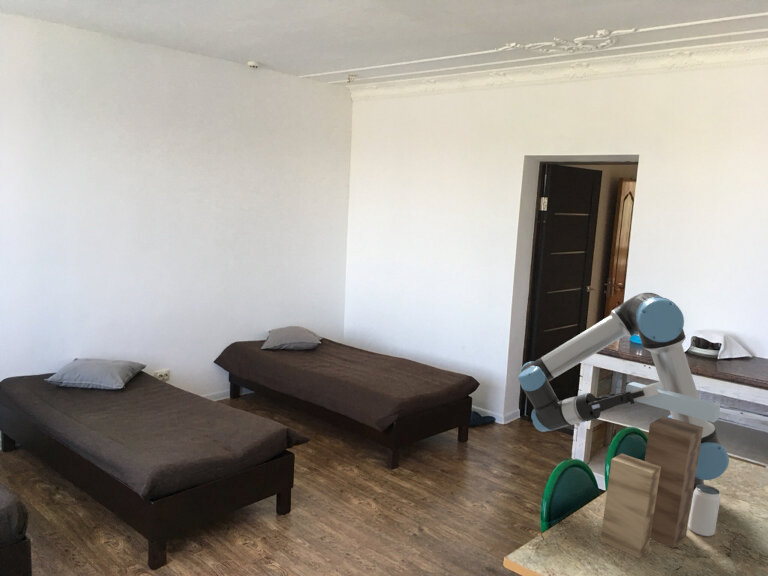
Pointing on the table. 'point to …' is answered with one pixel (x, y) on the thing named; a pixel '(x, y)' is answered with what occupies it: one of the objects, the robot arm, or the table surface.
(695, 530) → the can
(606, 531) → the oak step
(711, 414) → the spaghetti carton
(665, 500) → the walnut block
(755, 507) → the table surface
